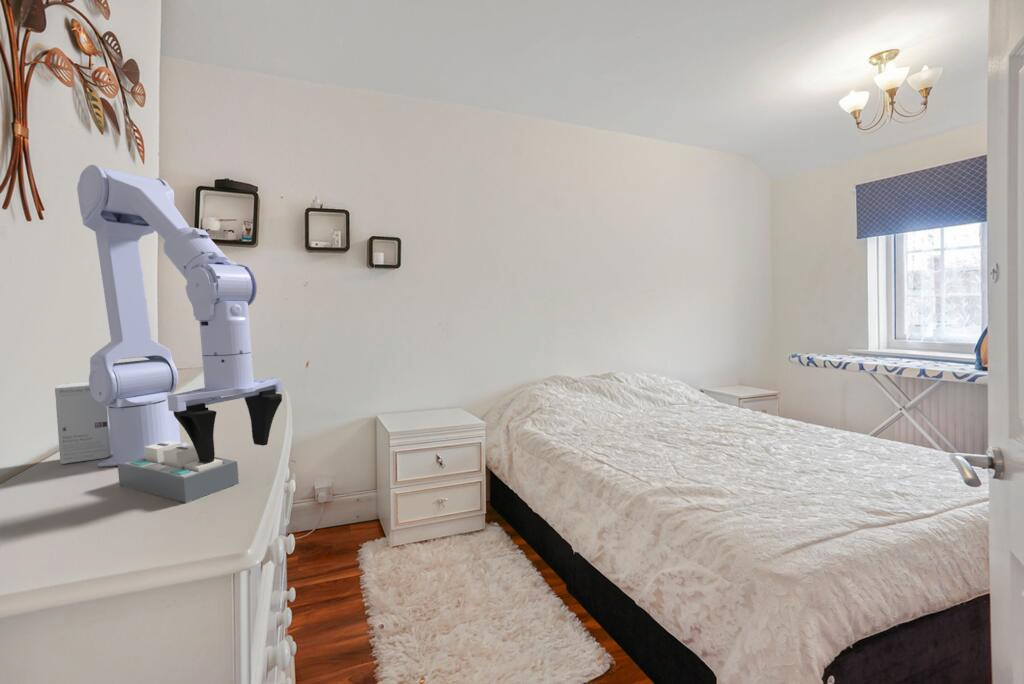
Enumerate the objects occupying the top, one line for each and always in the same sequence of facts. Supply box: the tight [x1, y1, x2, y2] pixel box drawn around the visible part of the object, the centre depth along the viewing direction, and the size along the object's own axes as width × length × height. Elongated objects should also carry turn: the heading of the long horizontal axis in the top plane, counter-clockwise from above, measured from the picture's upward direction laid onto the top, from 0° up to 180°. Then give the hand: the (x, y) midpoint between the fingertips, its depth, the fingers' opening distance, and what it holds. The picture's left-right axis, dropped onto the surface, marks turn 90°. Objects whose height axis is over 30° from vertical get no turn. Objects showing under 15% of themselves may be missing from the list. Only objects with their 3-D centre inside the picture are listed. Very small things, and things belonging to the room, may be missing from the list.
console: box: [117, 456, 240, 504], centre depth 62 cm, size 15×7×3 cm, turn 64°
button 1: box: [144, 441, 182, 463], centre depth 64 cm, size 3×3×2 cm
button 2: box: [184, 459, 223, 472], centre depth 60 cm, size 3×3×2 cm
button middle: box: [163, 443, 199, 468], centre depth 62 cm, size 3×3×2 cm
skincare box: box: [54, 381, 112, 465], centre depth 74 cm, size 6×4×12 cm
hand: (235, 452), depth 64 cm, fingers open, 7 cm apart
